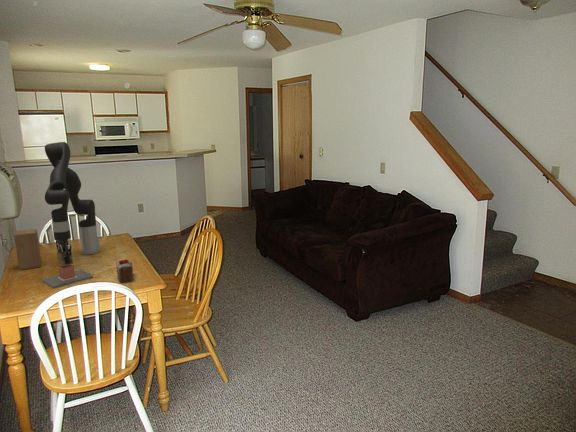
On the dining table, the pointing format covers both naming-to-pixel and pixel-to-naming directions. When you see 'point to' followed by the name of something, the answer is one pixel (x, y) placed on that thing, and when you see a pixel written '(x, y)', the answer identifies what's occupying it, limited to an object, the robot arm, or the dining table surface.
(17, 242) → the wooden block
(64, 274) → the red block
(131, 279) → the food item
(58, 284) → the grey flat rectangular panel
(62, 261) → the walnut block
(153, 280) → the dining table surface
